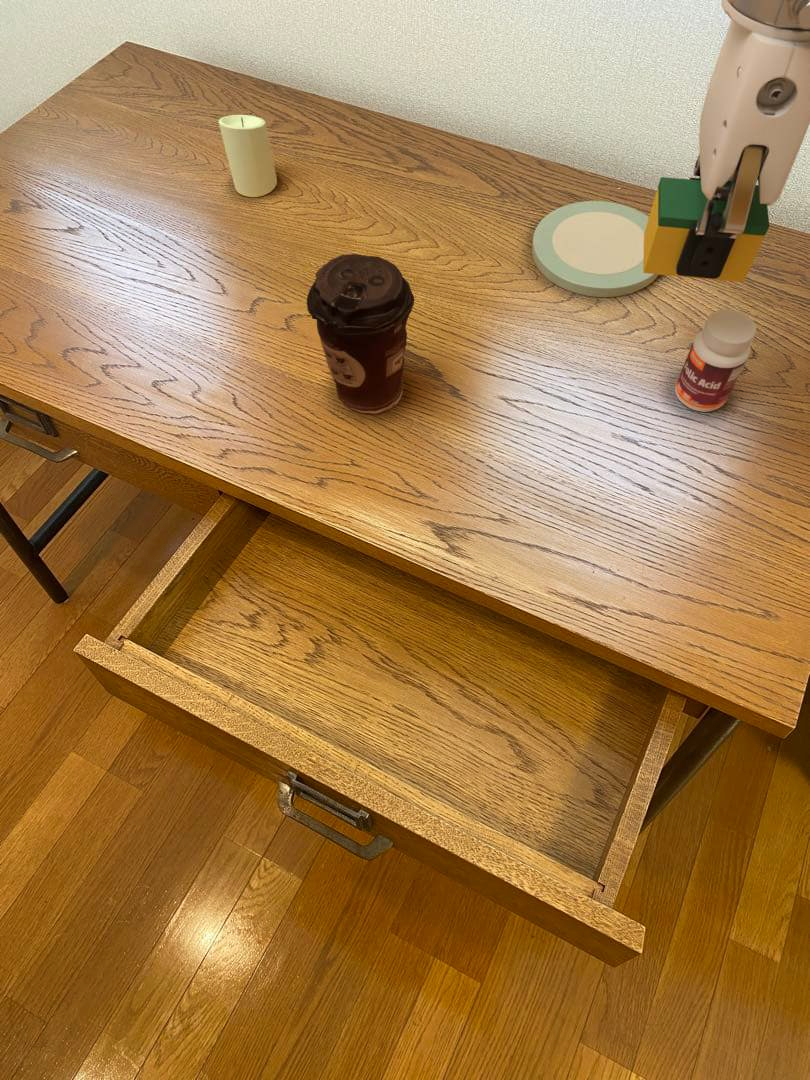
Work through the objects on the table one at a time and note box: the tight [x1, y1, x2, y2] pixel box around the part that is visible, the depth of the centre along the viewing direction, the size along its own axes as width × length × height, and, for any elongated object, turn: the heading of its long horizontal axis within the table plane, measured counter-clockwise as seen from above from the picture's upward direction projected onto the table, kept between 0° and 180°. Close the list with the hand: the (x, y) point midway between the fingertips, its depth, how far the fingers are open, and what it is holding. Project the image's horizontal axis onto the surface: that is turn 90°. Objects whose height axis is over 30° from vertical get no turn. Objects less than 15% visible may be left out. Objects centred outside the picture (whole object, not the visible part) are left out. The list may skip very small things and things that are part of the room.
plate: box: [531, 200, 660, 298], centre depth 79 cm, size 14×14×1 cm
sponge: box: [643, 176, 770, 284], centre depth 56 cm, size 8×5×5 cm, turn 80°
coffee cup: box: [306, 253, 415, 415], centre depth 65 cm, size 9×8×13 cm
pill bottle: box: [674, 308, 757, 413], centre depth 65 cm, size 5×5×8 cm
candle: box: [217, 114, 278, 198], centre depth 84 cm, size 5×5×8 cm
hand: (696, 248), depth 57 cm, fingers closed on sponge, 4 cm apart
